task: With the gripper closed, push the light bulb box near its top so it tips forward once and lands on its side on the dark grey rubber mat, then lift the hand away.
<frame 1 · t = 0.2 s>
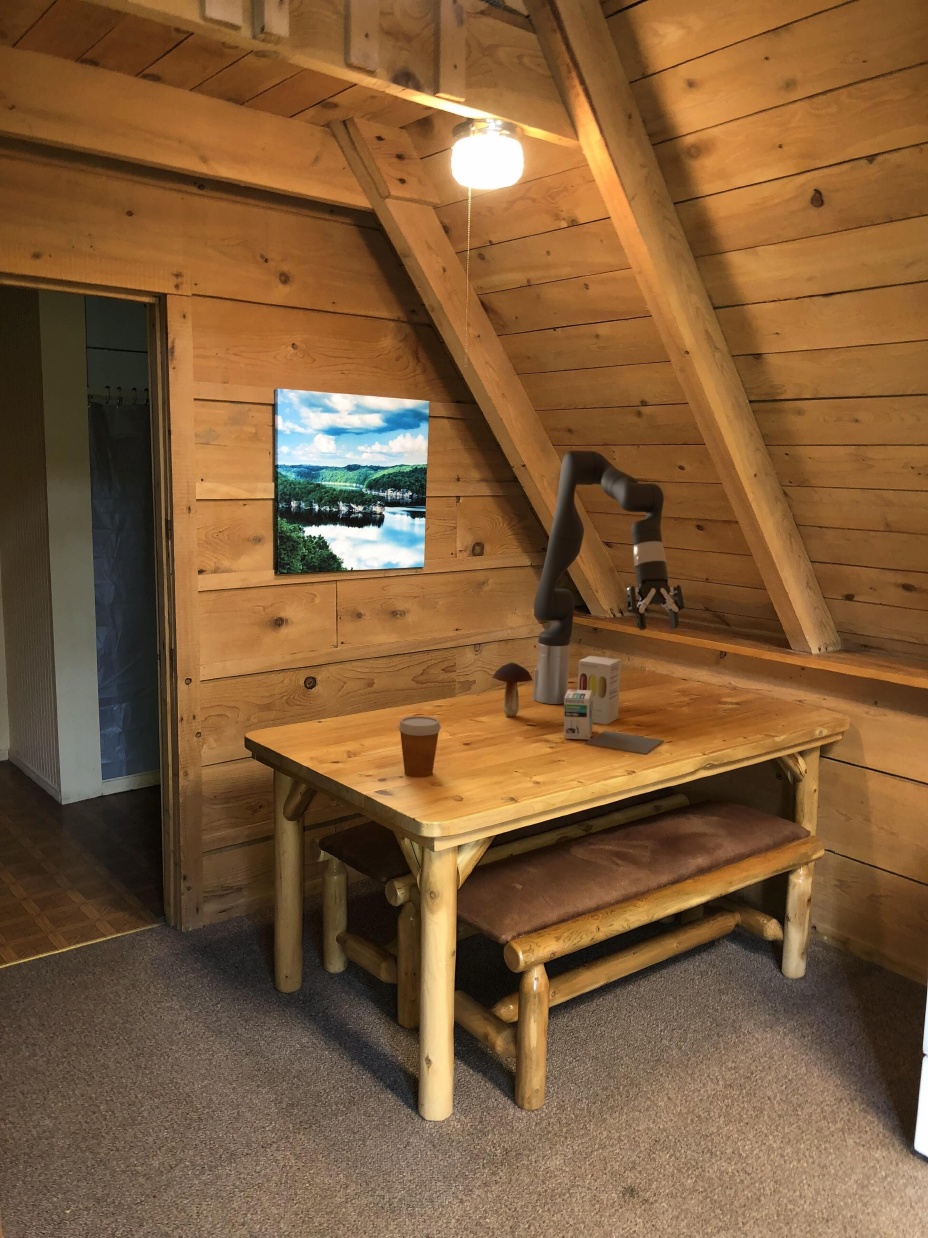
hand: (658, 629, 237), 31 cm above the table, tool tilted 20°, fingers open, 8 cm apart
disposable coffee cup: (418, 773, 223), on the table
decorative mushroom: (510, 716, 275), on the table
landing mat: (624, 742, 252), on the table
supplement box: (596, 719, 274), on the table
light bulb box: (578, 735, 258), on the table, touching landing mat
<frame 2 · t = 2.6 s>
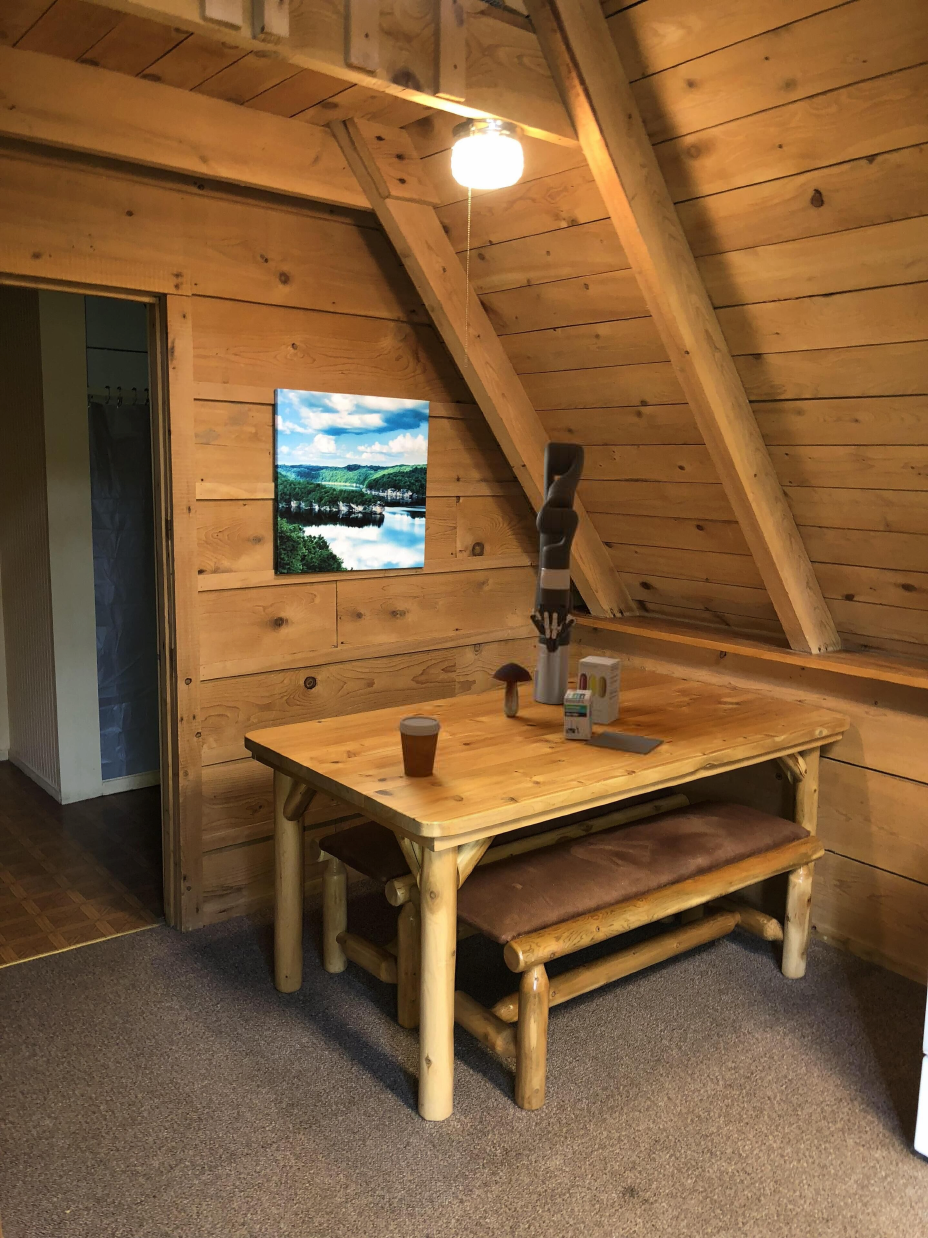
hand: (552, 652, 258), 21 cm above the table, tool pointing down, fingers closed
nothing on the table moved.
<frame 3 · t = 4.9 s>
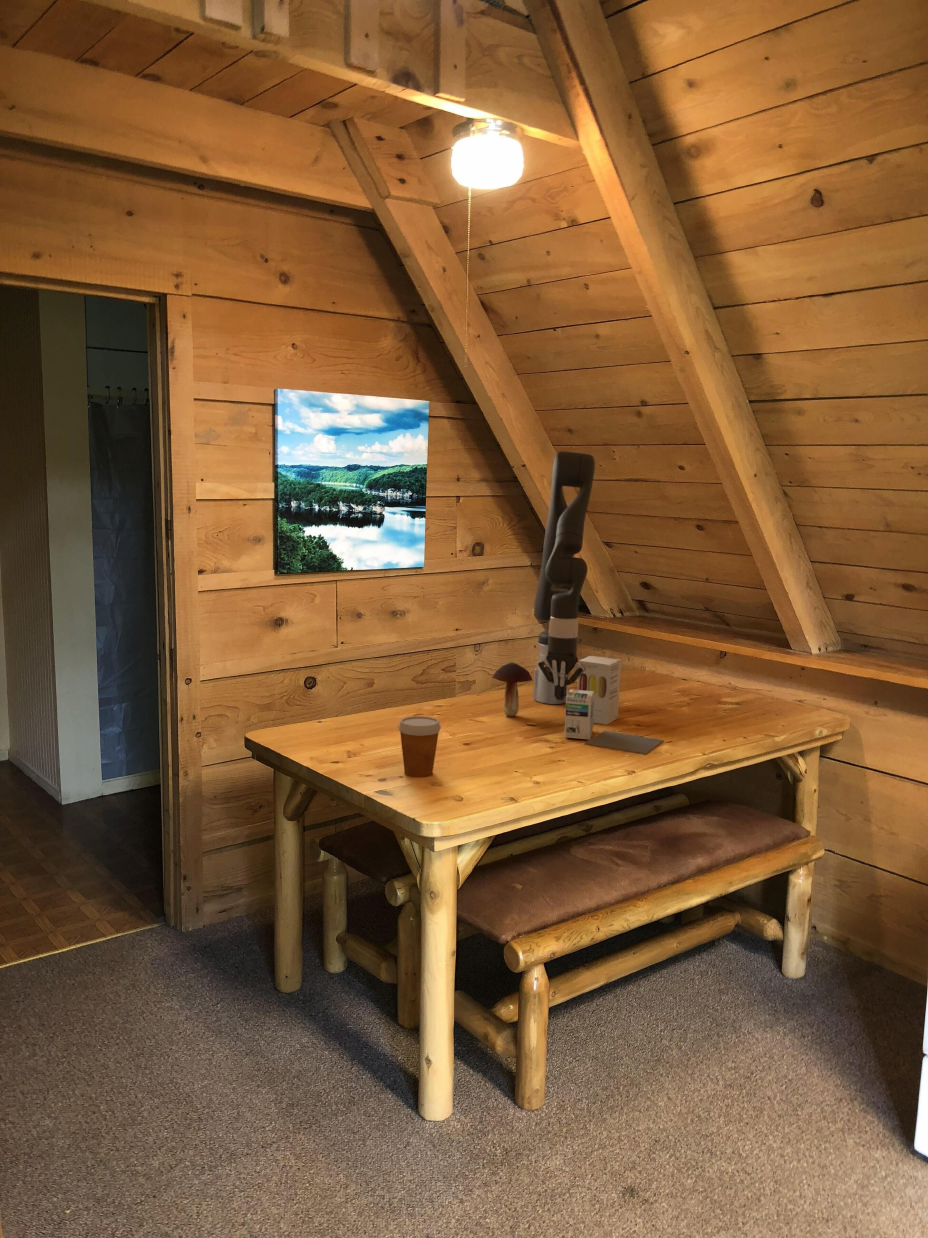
hand: (559, 699, 259), 9 cm above the table, tool pointing down, fingers closed
light bulb box: (578, 735, 258), on the table, touching gripper, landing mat
everything else where it was.
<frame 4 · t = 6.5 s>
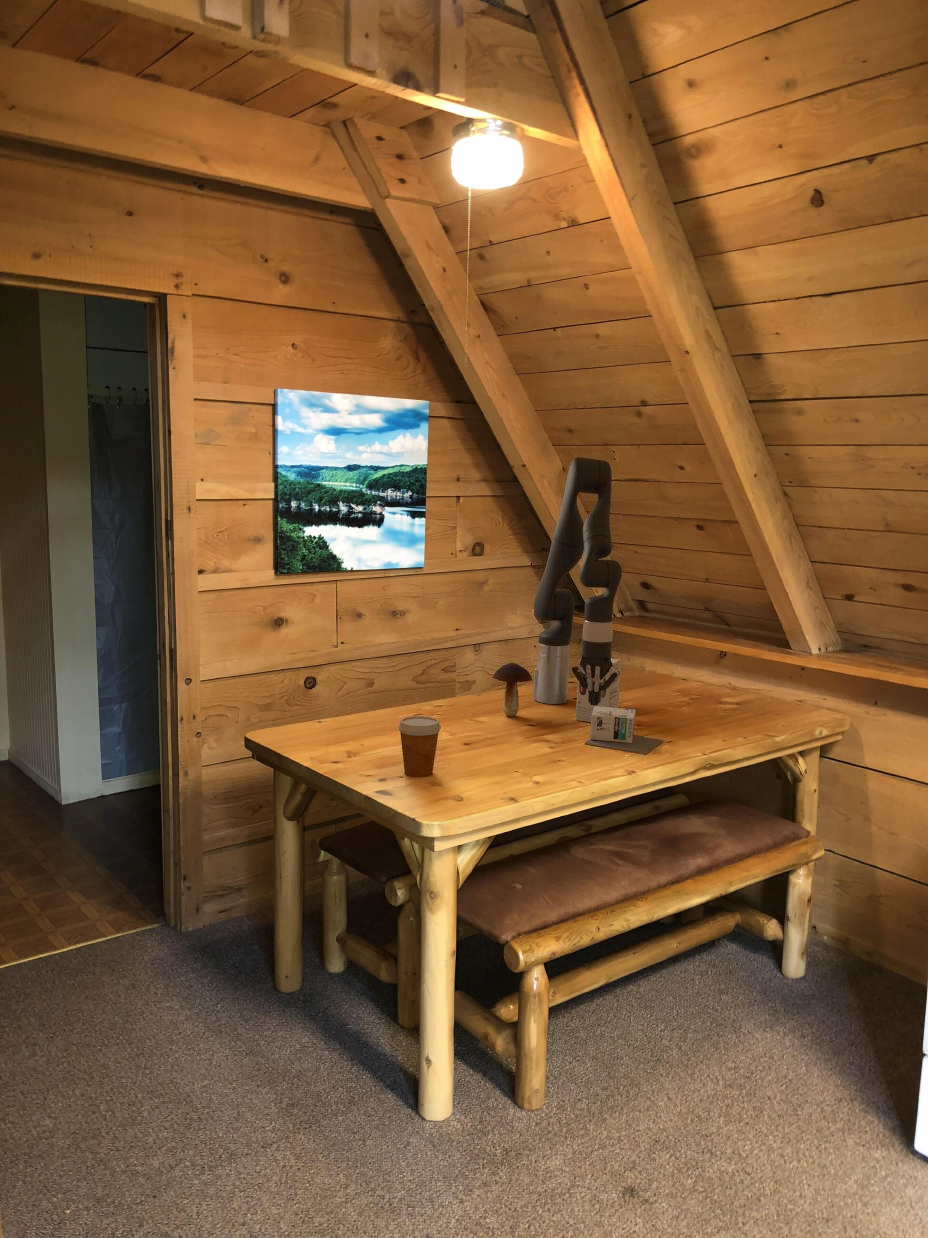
hand: (594, 704, 254), 9 cm above the table, tool pointing down, fingers closed
light bulb box: (591, 722, 256), point 4 cm above the table, touching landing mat
everything else where it was.
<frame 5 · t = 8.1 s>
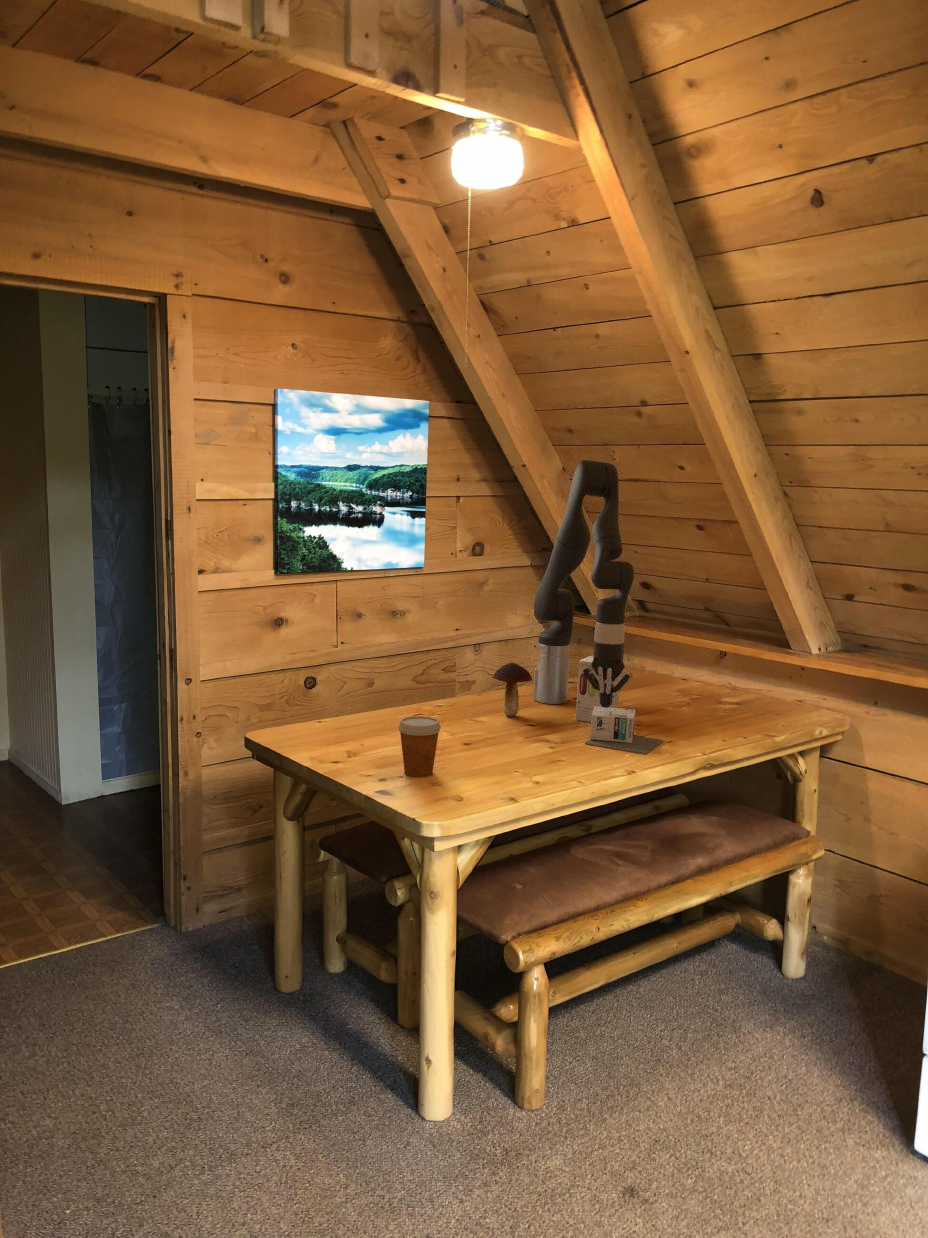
hand: (605, 706, 253), 8 cm above the table, tool pointing down, fingers closed
nothing on the table moved.
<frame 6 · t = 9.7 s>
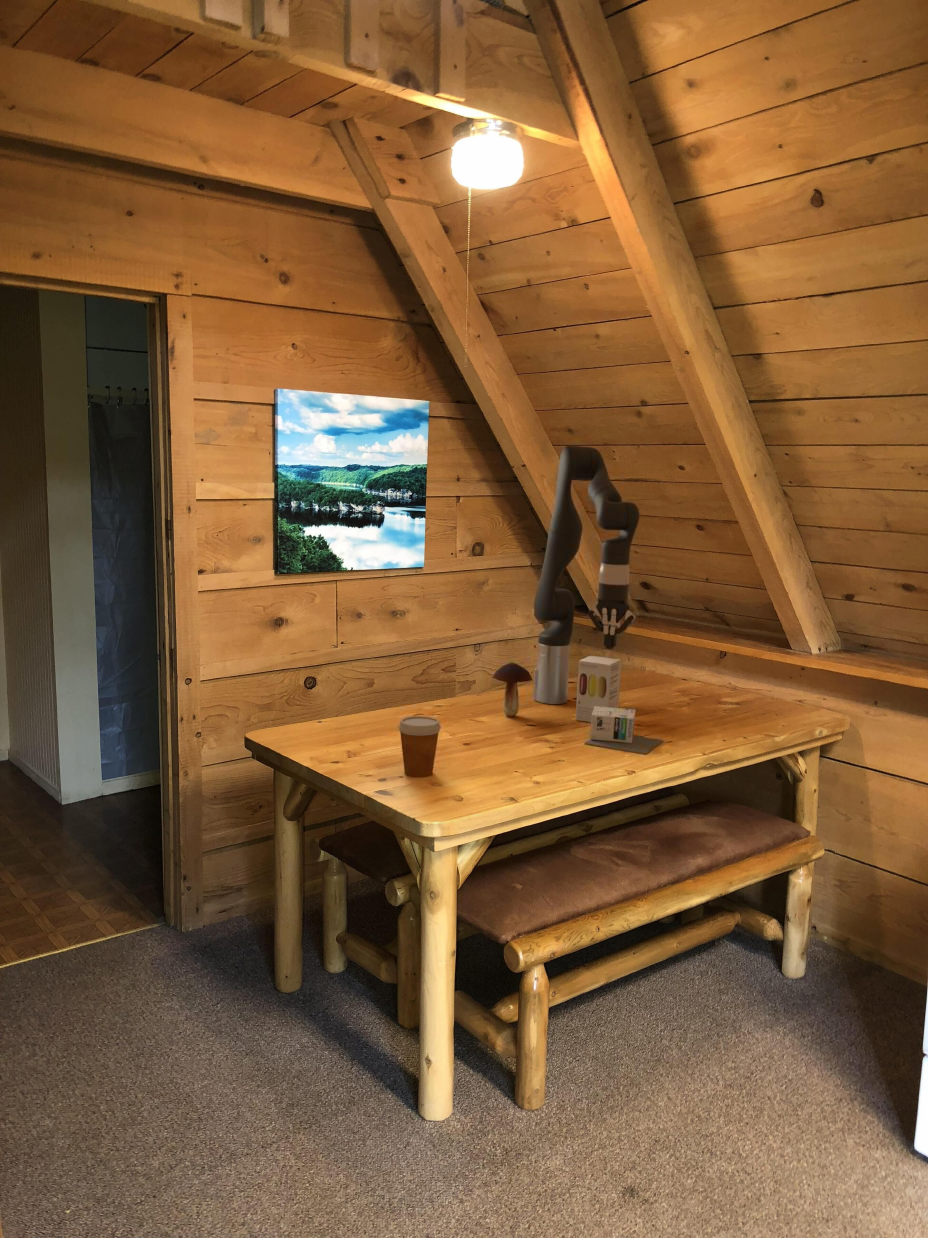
hand: (609, 648, 254), 23 cm above the table, tool pointing down, fingers closed
nothing on the table moved.
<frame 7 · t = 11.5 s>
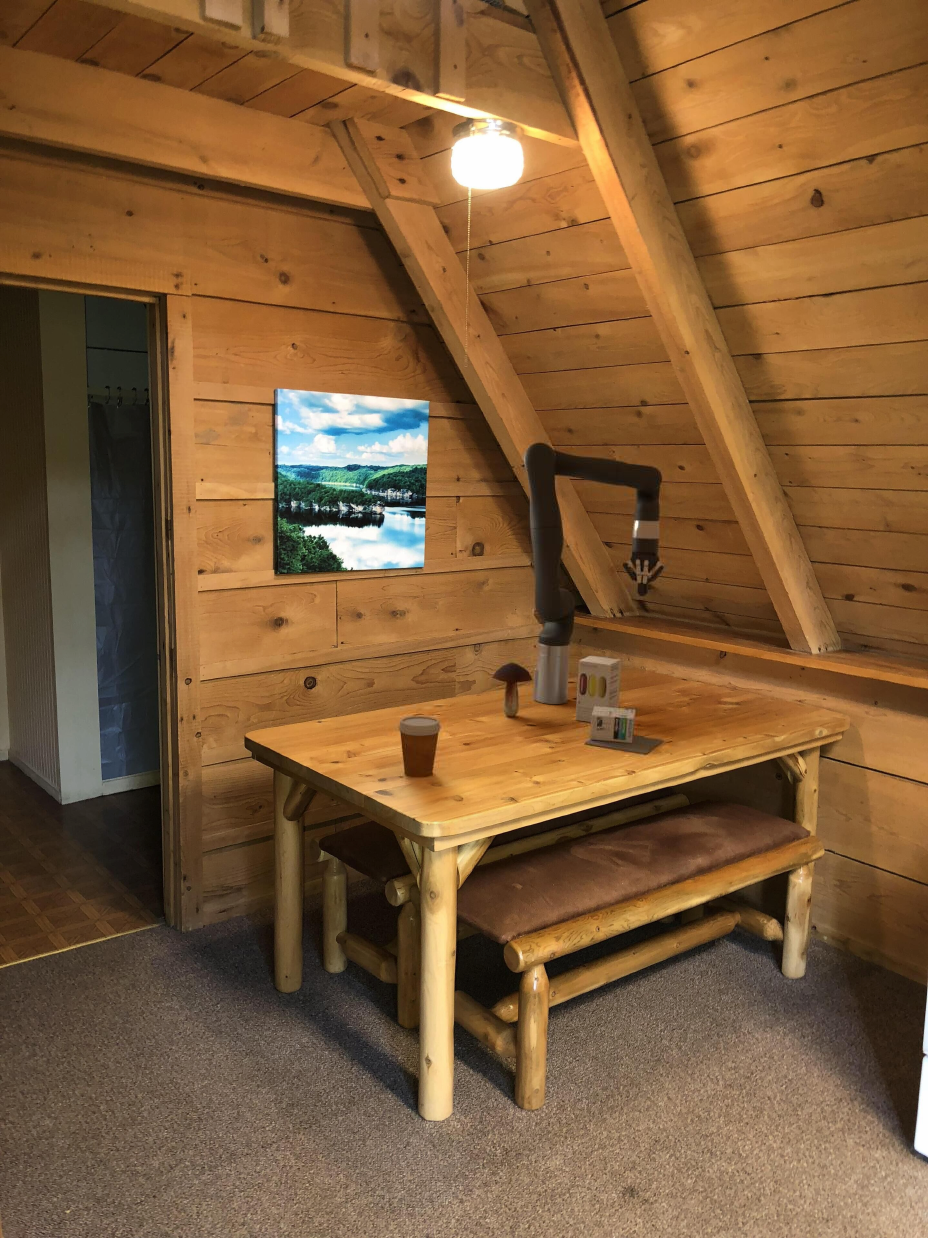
hand: (642, 595, 288), 32 cm above the table, tool pointing down, fingers closed
nothing on the table moved.
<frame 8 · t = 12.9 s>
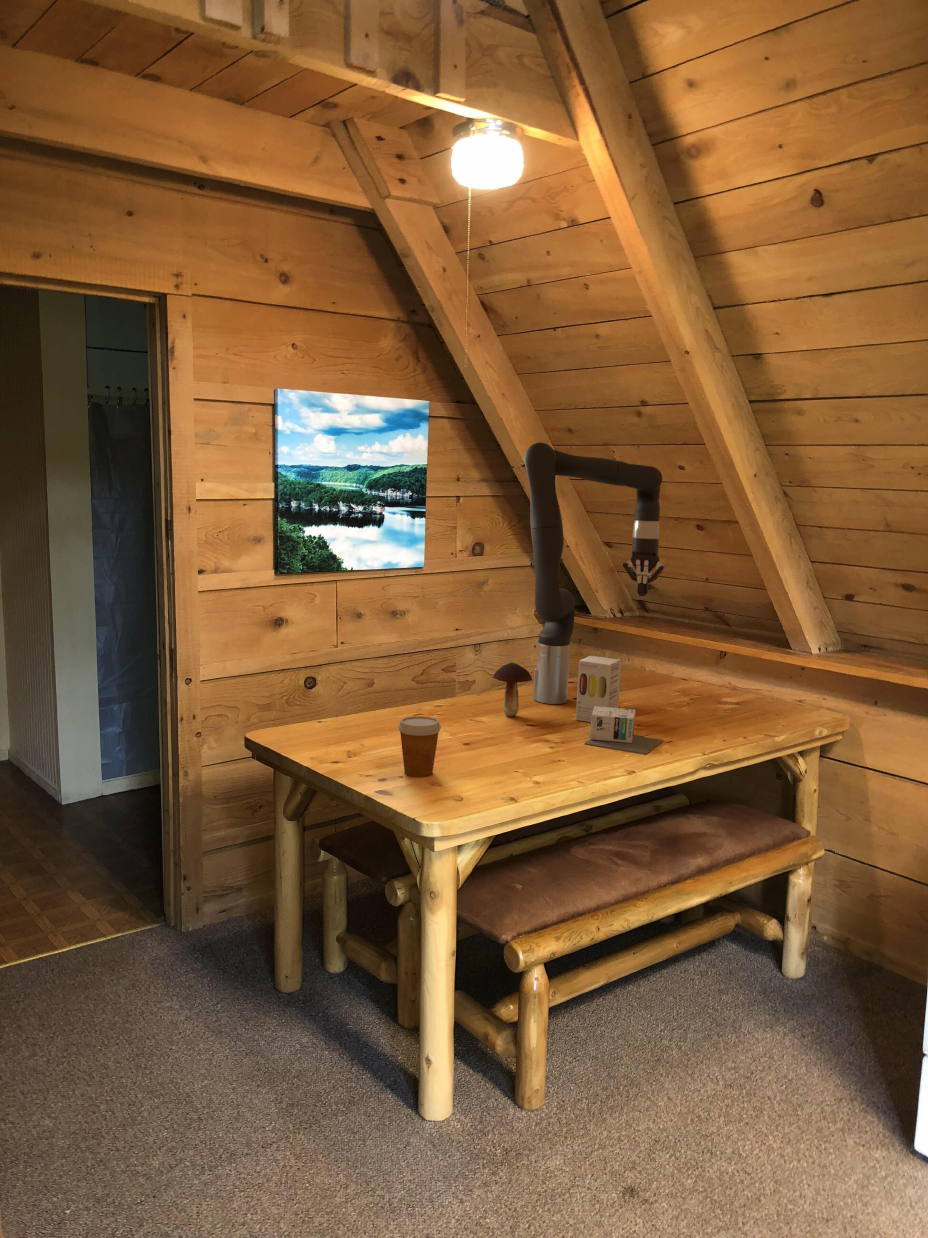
hand: (642, 595, 289), 32 cm above the table, tool pointing down, fingers closed
nothing on the table moved.
at the end: light bulb box tilted 91°; light bulb box inside the target area (3.6 cm from its centre), point 3.7 cm above the table; light bulb box touching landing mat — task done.
